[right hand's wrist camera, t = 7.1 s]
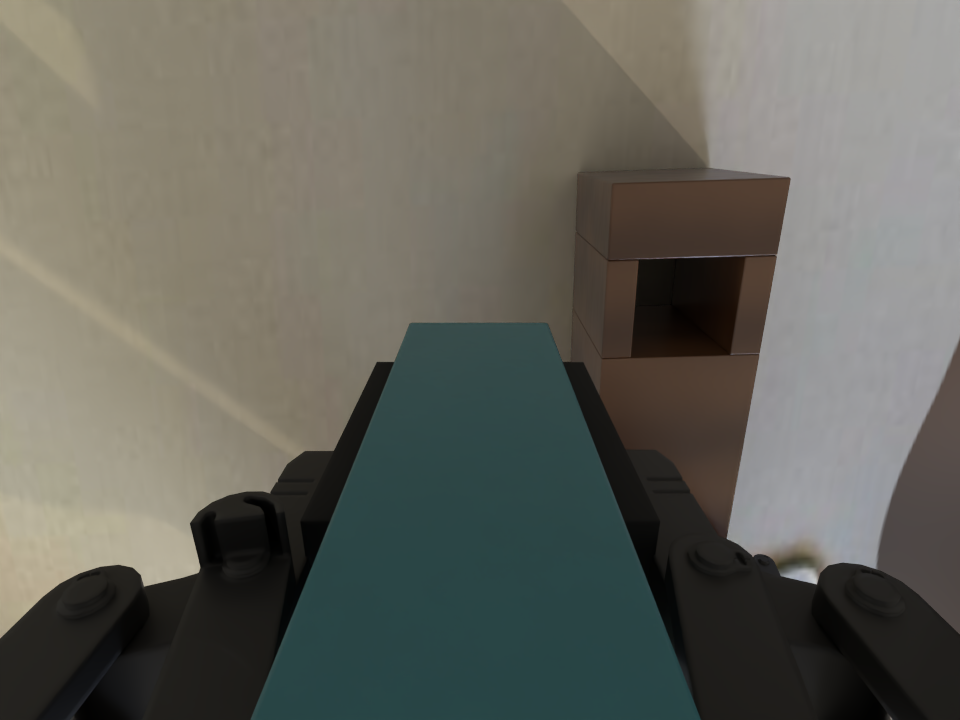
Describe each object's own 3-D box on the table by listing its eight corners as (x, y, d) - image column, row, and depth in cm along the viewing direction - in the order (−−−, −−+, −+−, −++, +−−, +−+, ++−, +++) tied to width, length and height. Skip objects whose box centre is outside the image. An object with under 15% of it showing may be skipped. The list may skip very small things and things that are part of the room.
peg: (409, 322, 15) (20, 1267, 2) (548, 322, 15) (921, 1267, 2) (415, 443, 17) (195, 1441, 4) (542, 443, 17) (754, 1439, 4)
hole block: (577, 172, 32) (612, 182, 24) (710, 168, 32) (791, 177, 24) (564, 542, 43) (584, 638, 35) (664, 539, 43) (709, 635, 34)
